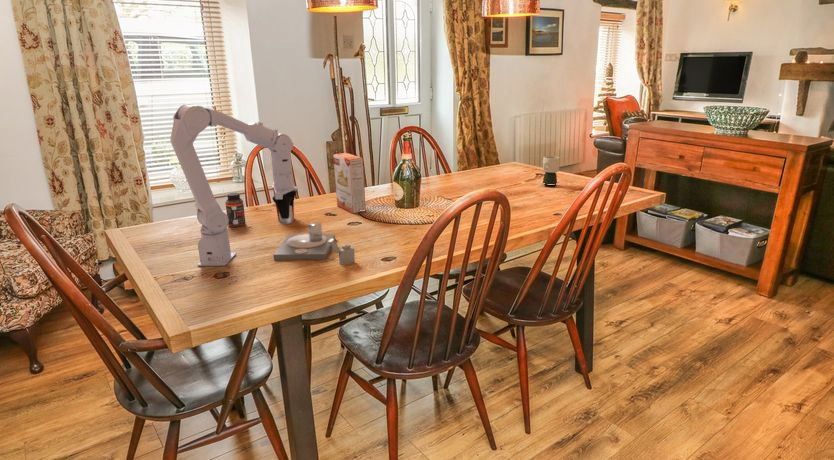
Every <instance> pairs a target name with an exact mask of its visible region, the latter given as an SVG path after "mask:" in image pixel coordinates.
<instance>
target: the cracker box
mask: <svg viewBox="0 0 834 460" xmlns="http://www.w3.org/2000/svg"><path fill="white" fill-rule="evenodd" d="M333 163H334V164H333V166H334V167H333V168H334V177H335V194H336V206H337V207H339V208H341V209H343V210H345V211H347V212H349V213H351V214H354V213H355V214H358V212H359V211H360V210H364V209H366V207H367V206H366V190H365V174H364V171H365V169H364V158H363V157H361V156H357V155H354V154H351V153H348V152H343V153H341V152H340V153H335V154H333ZM359 213H360V212H359Z"/></svg>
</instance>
